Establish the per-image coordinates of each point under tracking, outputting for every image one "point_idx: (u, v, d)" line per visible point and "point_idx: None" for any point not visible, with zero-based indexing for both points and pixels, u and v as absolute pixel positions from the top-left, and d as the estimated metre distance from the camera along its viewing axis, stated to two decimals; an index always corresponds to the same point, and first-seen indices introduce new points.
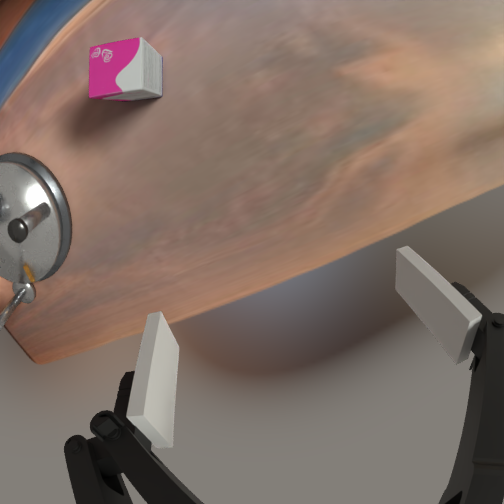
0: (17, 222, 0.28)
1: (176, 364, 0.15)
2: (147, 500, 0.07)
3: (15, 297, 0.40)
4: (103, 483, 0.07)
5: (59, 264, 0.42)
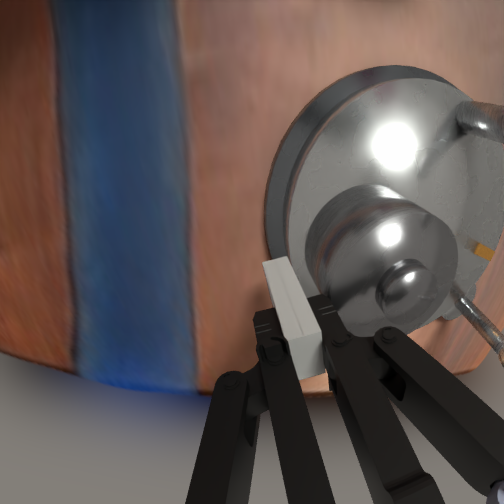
0: None
1: None
2: (276, 433, 0.08)
3: (474, 312, 0.23)
4: (242, 431, 0.09)
5: None
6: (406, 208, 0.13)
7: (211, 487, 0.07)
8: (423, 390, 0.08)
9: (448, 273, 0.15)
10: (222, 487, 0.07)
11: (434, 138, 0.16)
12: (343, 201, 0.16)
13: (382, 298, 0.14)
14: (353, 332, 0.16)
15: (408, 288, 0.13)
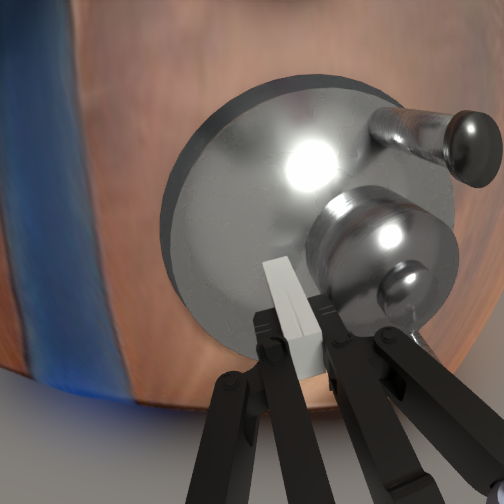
0: (473, 119, 0.08)
1: None
2: (276, 433, 0.08)
3: (416, 342, 0.23)
4: (242, 431, 0.09)
5: None
6: (407, 209, 0.13)
7: (211, 487, 0.07)
8: (423, 390, 0.08)
9: (449, 274, 0.15)
10: (222, 487, 0.07)
11: (337, 156, 0.16)
12: (344, 203, 0.16)
13: (383, 300, 0.14)
14: (355, 333, 0.15)
15: (409, 289, 0.13)
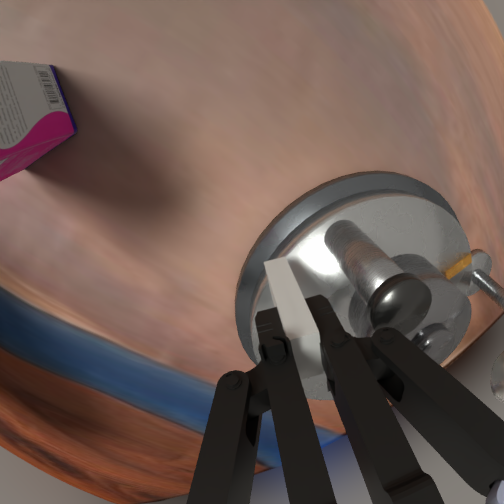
0: (380, 311, 0.12)
1: None
2: (277, 433, 0.08)
3: (489, 291, 0.22)
4: (244, 431, 0.09)
5: (437, 196, 0.21)
6: None
7: (213, 487, 0.07)
8: (421, 391, 0.08)
9: (460, 304, 0.16)
10: (224, 487, 0.07)
11: (328, 287, 0.20)
12: (356, 311, 0.20)
13: None
14: None
15: None
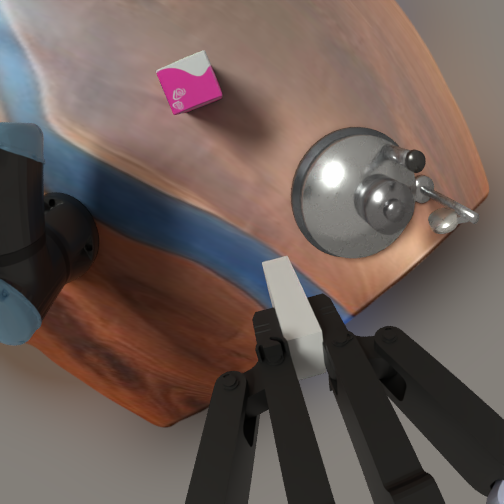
0: (414, 152, 0.34)
1: None
2: (275, 433, 0.08)
3: (430, 194, 0.45)
4: (242, 431, 0.09)
5: (390, 140, 0.43)
6: (394, 180, 0.39)
7: (211, 487, 0.07)
8: (423, 390, 0.08)
9: (410, 208, 0.41)
10: (222, 487, 0.07)
11: (369, 161, 0.42)
12: (371, 178, 0.42)
13: (386, 210, 0.39)
14: (375, 225, 0.41)
15: (394, 207, 0.39)
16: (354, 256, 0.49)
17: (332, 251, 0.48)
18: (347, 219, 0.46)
